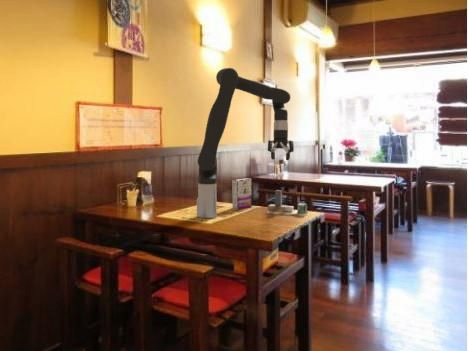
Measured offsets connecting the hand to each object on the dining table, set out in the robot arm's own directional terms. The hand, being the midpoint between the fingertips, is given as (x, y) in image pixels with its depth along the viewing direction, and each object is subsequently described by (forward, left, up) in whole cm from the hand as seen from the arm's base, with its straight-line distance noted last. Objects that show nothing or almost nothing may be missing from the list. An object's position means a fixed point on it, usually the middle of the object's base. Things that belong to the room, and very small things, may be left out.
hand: (280, 159), depth 214 cm
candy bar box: (-24, +6, -29) cm, 38 cm away
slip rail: (+4, 0, -29) cm, 29 cm away
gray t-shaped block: (+1, 0, -27) cm, 27 cm away
